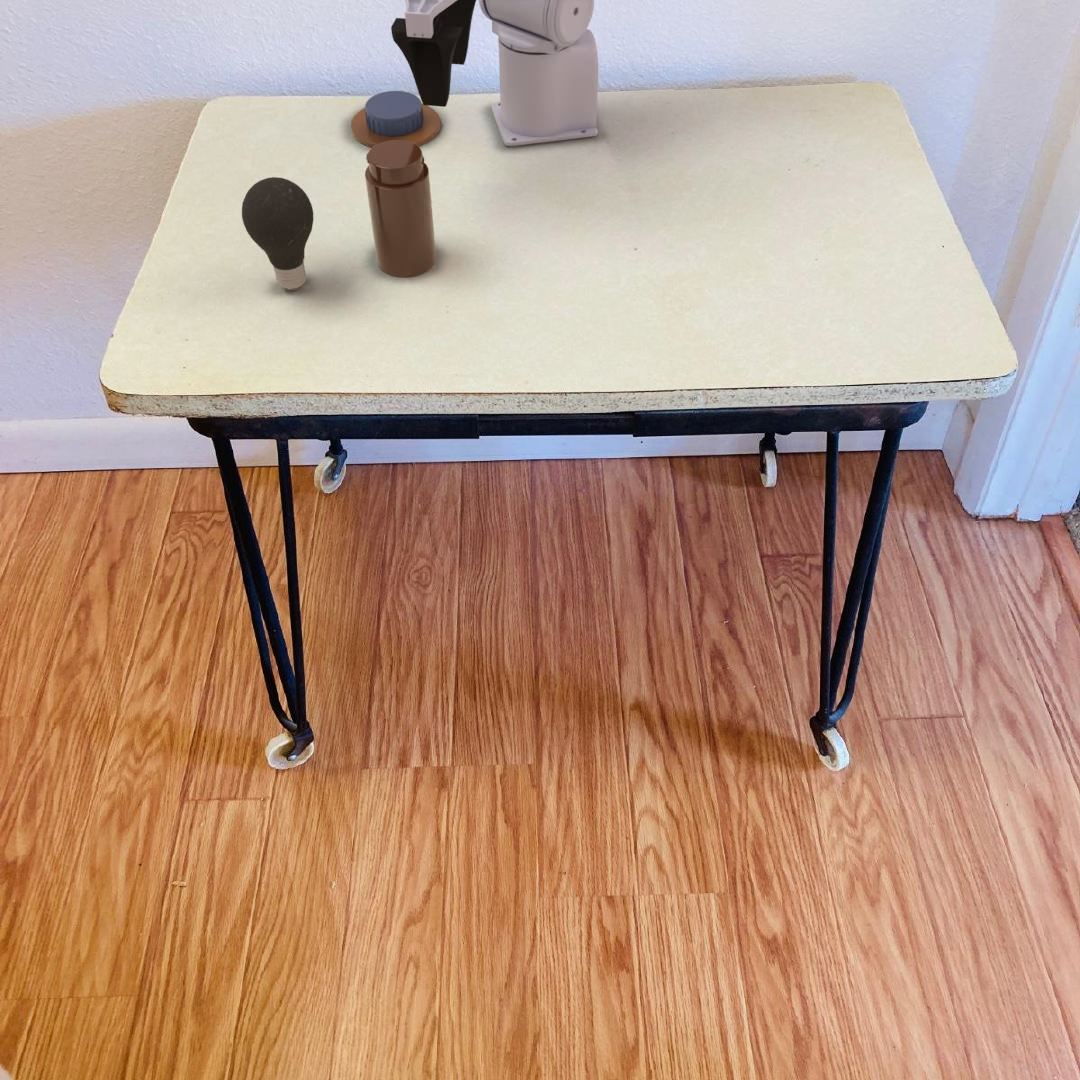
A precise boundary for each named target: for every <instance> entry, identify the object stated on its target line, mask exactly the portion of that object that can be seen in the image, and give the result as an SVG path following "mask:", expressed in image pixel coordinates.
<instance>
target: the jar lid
mask: <svg viewBox="0 0 1080 1080" xmlns="http://www.w3.org/2000/svg"><path fill="white" fill-rule="evenodd" d="M421 103H422V100H421V98H420V97H418V96H417V95H416V94H414V93H411V92H409V91H403V90H389V91H383V92H379V93H377V94H374V95H373V96H371V97H370V98H368V99H367V100H366V102H365V104H364V108H365V114H366V121H367V125H368V127H369V129H371V130H372V131H373V132H375V133H377V134H380V135H385V136H401V135H406V134H409V133H412V132H414V131H416V130H417V129H418V128H419V127H420V126H421V125H422V122H423V121H424V119H423V108H422V105H421Z"/></svg>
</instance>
